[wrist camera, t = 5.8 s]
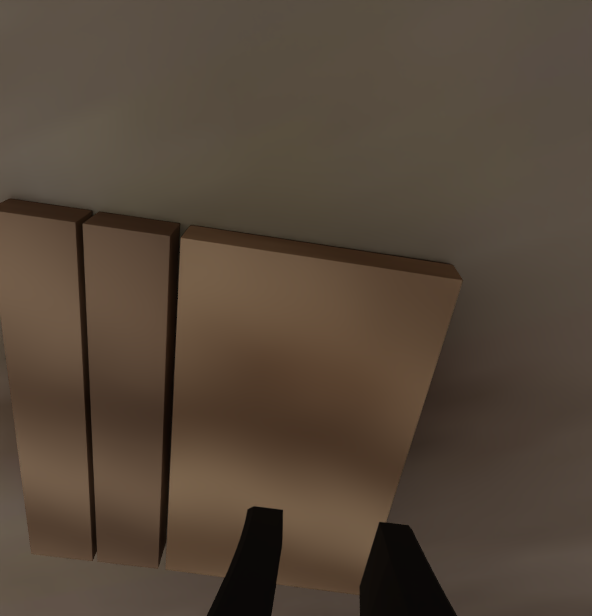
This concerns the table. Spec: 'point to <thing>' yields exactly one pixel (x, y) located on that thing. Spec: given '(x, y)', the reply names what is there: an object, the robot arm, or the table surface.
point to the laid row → (90, 376)
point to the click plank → (296, 397)
